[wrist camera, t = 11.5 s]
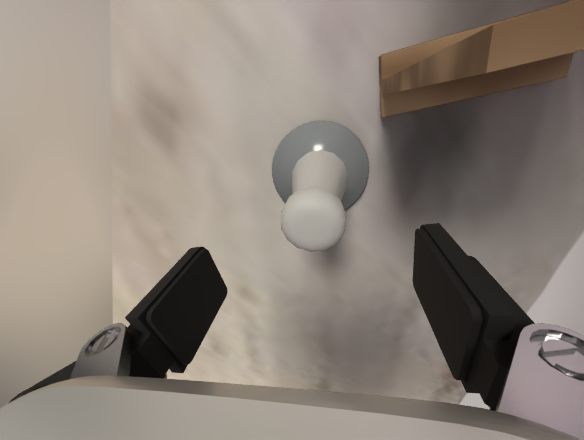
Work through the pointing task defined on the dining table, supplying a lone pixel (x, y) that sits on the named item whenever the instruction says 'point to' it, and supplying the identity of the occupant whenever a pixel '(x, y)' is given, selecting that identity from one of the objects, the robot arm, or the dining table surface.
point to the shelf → (482, 60)
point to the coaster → (326, 139)
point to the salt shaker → (316, 202)
